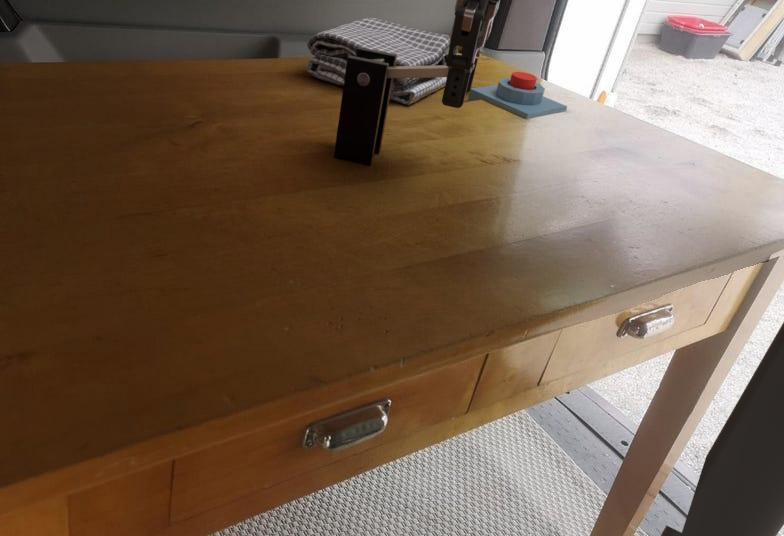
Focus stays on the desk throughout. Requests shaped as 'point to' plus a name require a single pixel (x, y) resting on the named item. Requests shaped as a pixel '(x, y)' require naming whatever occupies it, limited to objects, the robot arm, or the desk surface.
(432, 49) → the towel
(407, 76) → the lever
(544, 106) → the control block
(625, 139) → the desk surface
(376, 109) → the switch bracket
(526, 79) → the button
